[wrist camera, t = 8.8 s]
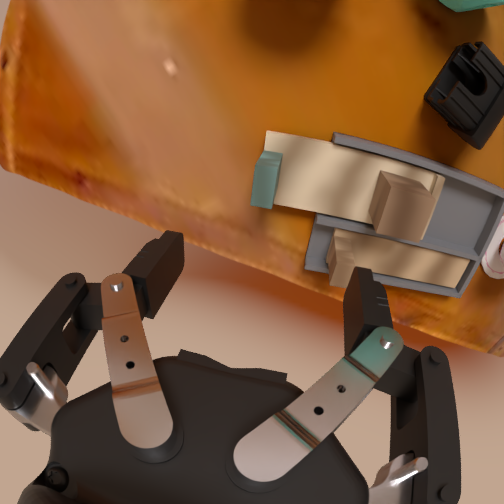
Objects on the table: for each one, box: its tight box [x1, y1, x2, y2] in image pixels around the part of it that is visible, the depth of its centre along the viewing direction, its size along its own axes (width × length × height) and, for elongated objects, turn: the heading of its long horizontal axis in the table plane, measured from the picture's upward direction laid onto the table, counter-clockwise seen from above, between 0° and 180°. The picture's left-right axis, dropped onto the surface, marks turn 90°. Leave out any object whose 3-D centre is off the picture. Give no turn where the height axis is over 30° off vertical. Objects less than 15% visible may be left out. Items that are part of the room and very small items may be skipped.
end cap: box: [424, 42, 504, 150], centre depth 20 cm, size 10×7×7 cm
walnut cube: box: [368, 170, 436, 243], centre depth 28 cm, size 5×5×5 cm
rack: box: [305, 132, 504, 298], centre depth 32 cm, size 24×17×2 cm
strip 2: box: [326, 227, 470, 288], centre depth 32 cm, size 20×5×6 cm, turn 84°
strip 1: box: [250, 131, 445, 240], centre depth 28 cm, size 20×8×6 cm, turn 84°
